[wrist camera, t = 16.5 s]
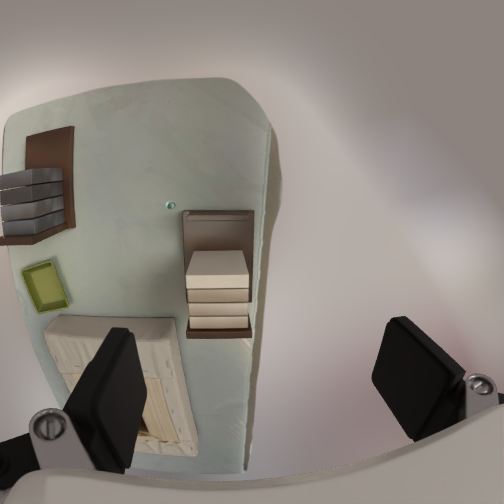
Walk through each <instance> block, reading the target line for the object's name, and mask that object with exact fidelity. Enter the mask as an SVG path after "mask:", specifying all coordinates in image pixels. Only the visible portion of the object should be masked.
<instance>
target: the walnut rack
mask: <svg viewBox="0 0 504 504" xmlns="http://www.w3.org/2000/svg"><path fill="white" fill-rule="evenodd" d="M73 143H74V126H68V127H63V128H59V129H54V130H50V131H46V132H42V133H38V134H34V135H31V136H27V137H26V158H25V170H24V171H19V172H14V173H10V174H6V175H1V176H0V190H3V189H9V188H15V187H21V186H26V187H21V188H16V189H10V190H5V191H0V202H1V205H6V206H3V207H1V216H2V221H5V222H3V223H2V225H3V233H4V236H2V237H0V246H4V245H33V244H35V243H38V242H40V241H42V240H44V239H46V238H48V237H50V236H52V235H55V234H57V233H59V232H61V231H64V230H66V229H68V228H75V227H76V224H75V211H74V193H73ZM8 204H10V205H8ZM6 220H8V221H6Z"/></svg>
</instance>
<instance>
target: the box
mask: <svg viewBox="0 0 504 504" xmlns="http://www.w3.org/2000/svg"><path fill="white" fill-rule="evenodd" d="M112 327H121V328H128V329H129V331H130V332H133V333H134V335H135V340H136V345H137V350H138V354H139V359H140V363H141V367H142V371H143V375H144V379H145V383H146V387H147V399H146V403H145V407H144V411H143V415H142V419H141V423H140V427H139V431H138V435H137V440H136V444H135V449H134V451H135V452H143V453H152V454H164V455H180V456H198V434H197V431H196V427H195V423H194V419H193V415H192V410H191V406H190V401H189V397H188V392H187V388H186V382H185V377H184V372H183V367H182V362H181V356H180V350H179V344H178V338H177V332H176V326H175V319H174V318H116V317H90V316H73V315H59V316H58V317H56V318H55V319H54V320H53V321H52V322H51V323H50V324H49V326H48V327H47V328H46V329H45V331H44V337H45V340H46V343H47V346H48V348H49V350H50V352H51V355H52V357H53V359H54V361H55V363H56V366H57V368H58V371H59V372H60V373H61V374H62V377H63V379H64V381H65V383H66V386H67V388H68V390H69V392H70V394H71V393H72V391H73V389H74V388H75V386H76V384H77V382H78V380H79V379H80V377H81V375H82V373H83V371H84V370H85V368H86V366H87V365H88V363H89V362H90V361H92V359H93V358H94V356H95V354H96V352H97V351H98V349H99V347H100V346H101V344H102V342H103V341H104V339H105V337H106V336H107V334H108V333H109V331H110V329H111V328H112Z"/></svg>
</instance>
